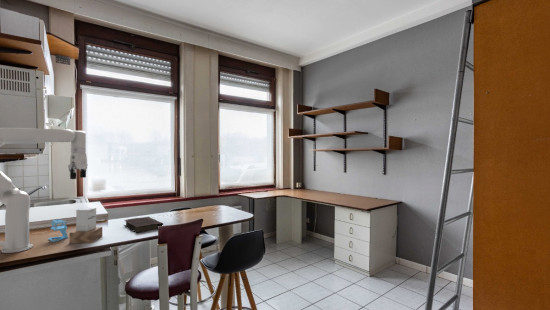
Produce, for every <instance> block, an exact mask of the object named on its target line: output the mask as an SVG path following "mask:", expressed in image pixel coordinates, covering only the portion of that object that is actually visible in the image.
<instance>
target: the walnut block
mask: <svg viewBox="0 0 550 310" xmlns="http://www.w3.org/2000/svg"><path fill="white" fill-rule="evenodd" d="M102 237H103V226H96V228H95V229H92V230H89V231H76V229H75V230H73V231H70V232H69V237H68V239H69V244H91V243H94V242H95V241H97V240H99V239H101V238H102Z"/></svg>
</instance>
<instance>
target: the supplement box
mask: <svg viewBox="0 0 550 310" xmlns="http://www.w3.org/2000/svg"><path fill="white" fill-rule="evenodd" d="M75 214H76V216H75V217H76V218H75V230H76V231H89V230H92V229H95V228H96V227H97V207H83V208H80V209H76V212H75Z"/></svg>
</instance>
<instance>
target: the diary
mask: <svg viewBox="0 0 550 310" xmlns="http://www.w3.org/2000/svg"><path fill="white" fill-rule="evenodd" d="M124 222H125V224H123V226H124V227H125V228H127V229H129V230H130V231H132V232H134V233H135V234H142V233H146V232H150V231H155V230H158V229H157V228H158V226H162V225H164V223H163V222H162V221H158V220H157V219H156V218H152V217H150V216H144V217H134V218H128V219H124Z"/></svg>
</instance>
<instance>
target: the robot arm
mask: <svg viewBox="0 0 550 310" xmlns="http://www.w3.org/2000/svg"><path fill="white" fill-rule="evenodd" d="M86 136H87V133H86V132H85V131H83V130H71V129H69V128H67V129H66V128H37V127H36V128H35V127H0V148H1V147H3V146H4V145H5V144H7V145H10V144H11V145H13V144H14V145H15V144H43V143H70V159H69V164H68V166H67V167H68V171H69V179H70V180H76V179H77V170H80V171H79V177H80V178H81V179H82V178H86V177H87V169H88V157H87V153H86V151H87V150H86V147H87V146H86V143H87V141H86V140H87V139H86ZM31 201H32V200H31V197H30V195H29V194H28V192H27V191H26V192H25V191H24V190H20V189H19V188H18V187H17V186H15V185H14V183H13V181H12V179H11V178H10V177H8V176H7V175H6V174H5V173H4V172H2V171H1V170H0V202H1V203H2V204H3V205H4V206H5V212H4V213H5V214H4V216H5V217H4V222H5V223H4V224H5V225H4V228H5V229H4V237H5V238H4V241H0V247H2V248H1V249H0V252H1V253H3V254H11V253H12V254H13V253H18V252H24V251H28V250H30V249H32V248H33V247H34V245H33V243H30V209H31V208H30V207H31Z"/></svg>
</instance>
